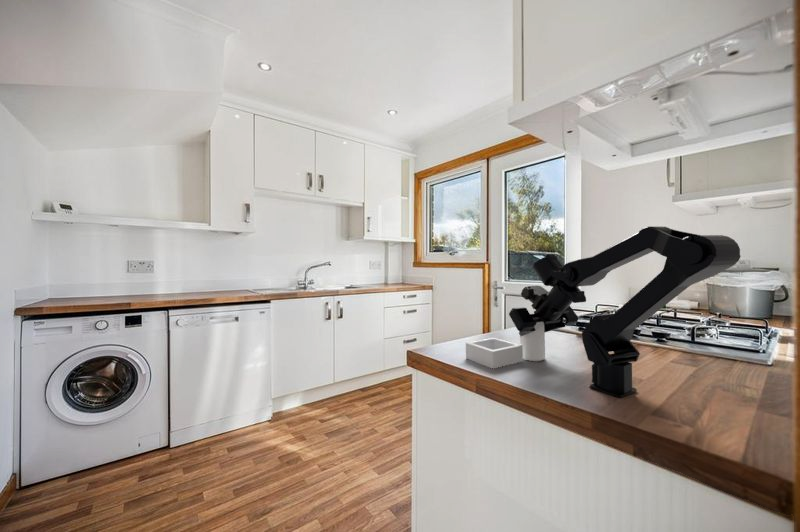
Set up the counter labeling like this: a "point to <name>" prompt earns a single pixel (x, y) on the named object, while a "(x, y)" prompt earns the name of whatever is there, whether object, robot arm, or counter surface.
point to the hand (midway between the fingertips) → (529, 333)
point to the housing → (494, 352)
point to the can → (534, 344)
